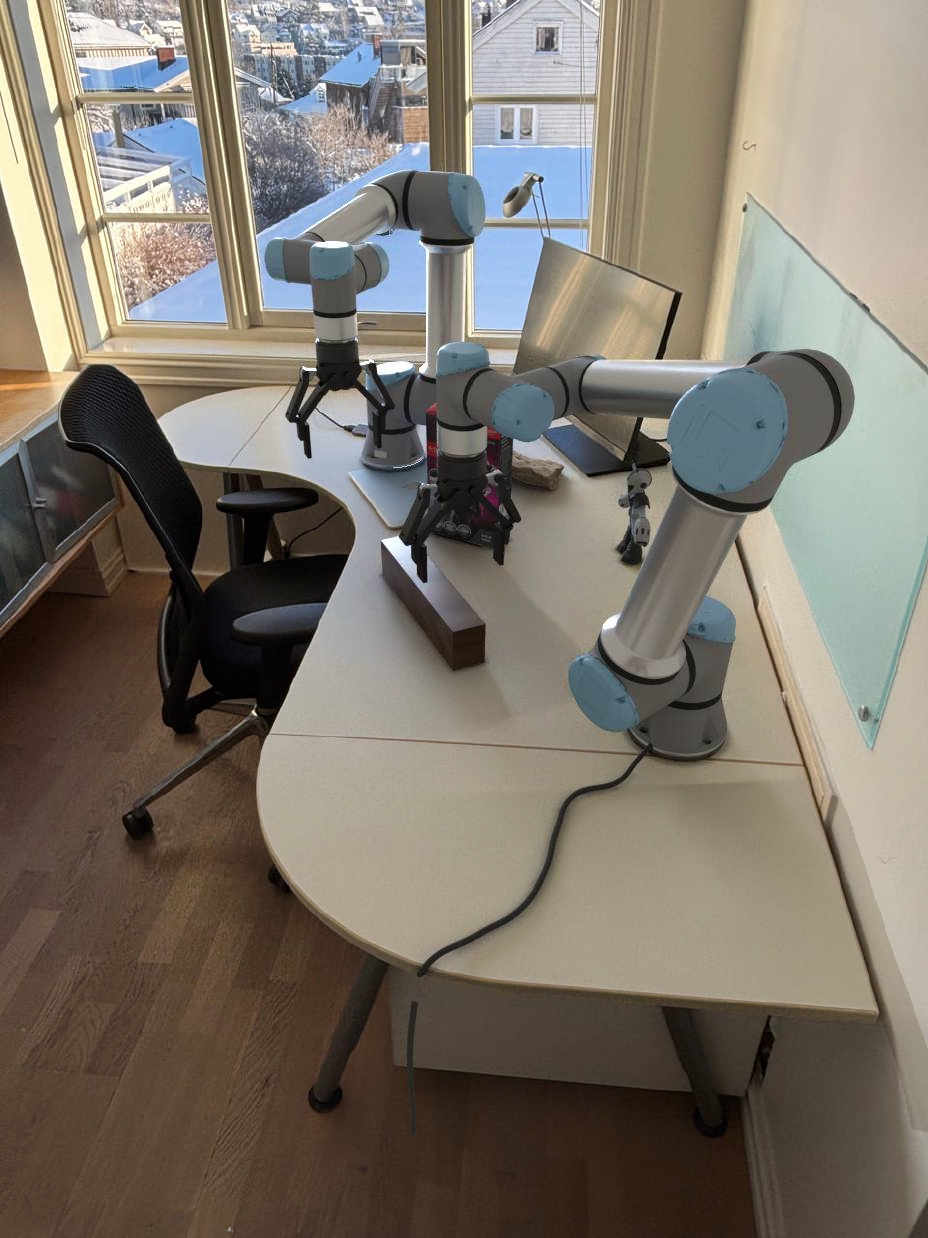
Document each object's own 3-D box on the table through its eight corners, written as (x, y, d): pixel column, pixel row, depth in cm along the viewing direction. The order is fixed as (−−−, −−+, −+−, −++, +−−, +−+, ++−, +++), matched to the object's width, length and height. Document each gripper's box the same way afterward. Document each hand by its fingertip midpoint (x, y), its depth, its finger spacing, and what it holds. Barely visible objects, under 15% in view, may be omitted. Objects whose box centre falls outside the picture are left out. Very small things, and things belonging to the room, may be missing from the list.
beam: (484, 662, 158) (485, 623, 153) (452, 671, 155) (453, 632, 151) (410, 569, 183) (409, 533, 179) (382, 575, 181) (380, 539, 177)
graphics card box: (425, 532, 195) (422, 409, 180) (440, 519, 200) (440, 398, 185) (497, 552, 189) (501, 426, 173) (511, 537, 194) (517, 414, 179)
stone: (462, 471, 213) (468, 446, 211) (478, 460, 226) (484, 436, 224) (548, 498, 210) (555, 473, 207) (560, 485, 223) (567, 461, 221)
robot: (652, 579, 180) (665, 486, 169) (627, 579, 180) (639, 486, 169) (631, 531, 196) (642, 443, 185) (609, 531, 196) (618, 444, 185)
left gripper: (396, 325, 169) (399, 434, 181) (261, 338, 161) (273, 452, 172) (410, 336, 163) (412, 448, 175) (271, 350, 155) (282, 467, 166)
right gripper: (524, 427, 146) (518, 544, 157) (374, 452, 137) (380, 574, 149) (546, 444, 140) (539, 565, 152) (392, 472, 131) (397, 597, 143)
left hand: (343, 450), depth 173 cm, fingers open, 13 cm apart
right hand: (460, 570), depth 150 cm, fingers open, 13 cm apart
